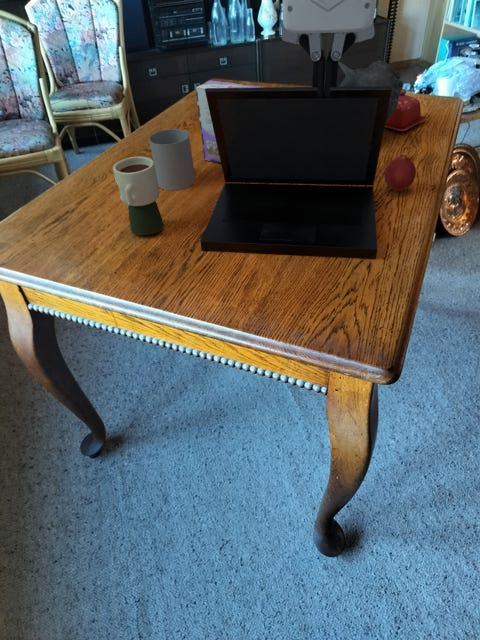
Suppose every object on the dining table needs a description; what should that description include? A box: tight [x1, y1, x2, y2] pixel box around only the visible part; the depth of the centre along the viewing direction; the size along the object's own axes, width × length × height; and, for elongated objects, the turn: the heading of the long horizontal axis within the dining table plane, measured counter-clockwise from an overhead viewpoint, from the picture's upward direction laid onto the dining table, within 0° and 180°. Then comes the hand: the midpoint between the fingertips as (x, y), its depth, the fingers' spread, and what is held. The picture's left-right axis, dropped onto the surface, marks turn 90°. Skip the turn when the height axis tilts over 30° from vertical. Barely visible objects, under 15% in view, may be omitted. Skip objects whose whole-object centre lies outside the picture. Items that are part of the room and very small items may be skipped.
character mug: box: [112, 155, 165, 236], centre depth 85 cm, size 11×7×13 cm, turn 173°
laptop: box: [200, 182, 379, 260], centre depth 87 cm, size 22×30×2 cm
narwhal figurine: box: [338, 60, 404, 121], centre depth 106 cm, size 14×15×18 cm
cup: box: [148, 128, 196, 192], centre depth 100 cm, size 8×8×10 cm
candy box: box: [194, 79, 263, 165], centre depth 104 cm, size 14×6×16 cm, turn 57°
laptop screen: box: [205, 86, 392, 187], centre depth 85 cm, size 22×30×1 cm
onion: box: [384, 152, 417, 193], centre depth 91 cm, size 6×6×8 cm
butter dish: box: [384, 88, 427, 132], centre depth 117 cm, size 12×12×8 cm
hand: (324, 92), depth 59 cm, fingers closed
